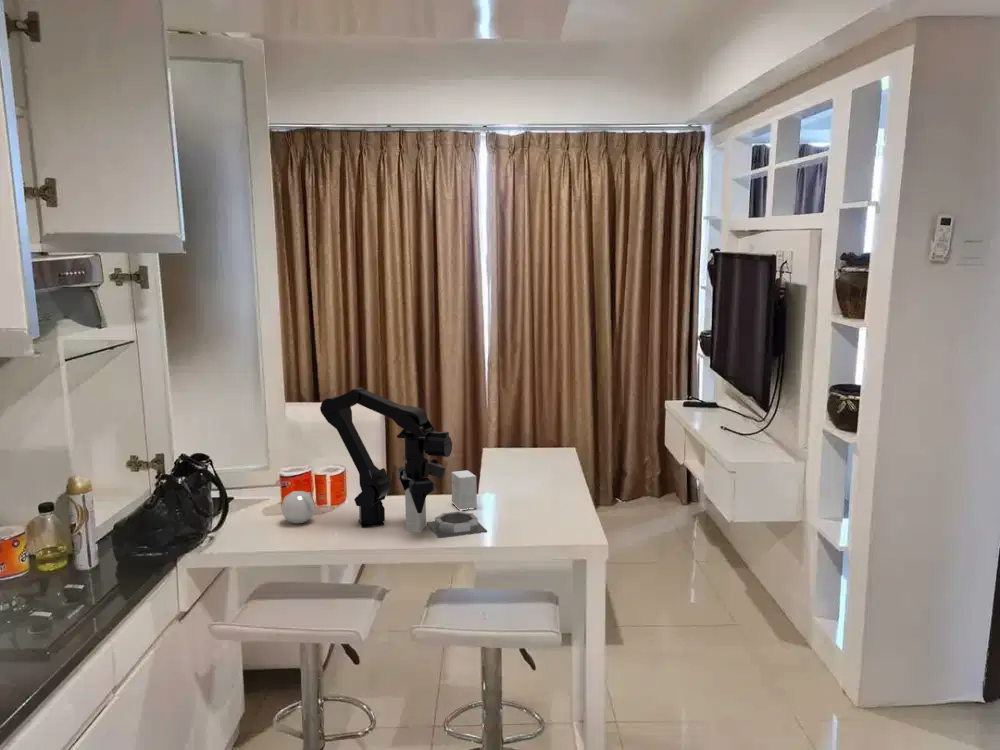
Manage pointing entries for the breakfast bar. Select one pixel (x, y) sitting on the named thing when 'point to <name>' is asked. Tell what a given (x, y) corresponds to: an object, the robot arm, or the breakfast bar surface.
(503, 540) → the breakfast bar surface
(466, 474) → the small box
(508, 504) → the breakfast bar surface
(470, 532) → the grey octagonal ring base
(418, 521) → the skincare box
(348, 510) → the breakfast bar surface
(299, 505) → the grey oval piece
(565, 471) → the breakfast bar surface
